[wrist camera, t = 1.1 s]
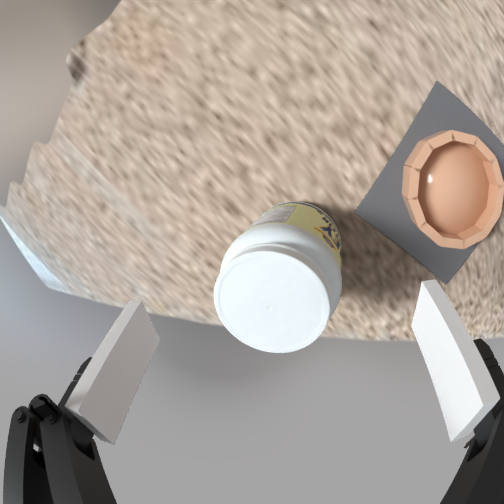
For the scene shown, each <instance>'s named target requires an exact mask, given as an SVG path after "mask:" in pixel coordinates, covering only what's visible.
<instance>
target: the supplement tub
mask: <svg viewBox="0 0 504 504" xmlns="http://www.w3.org/2000/svg"><path fill="white" fill-rule="evenodd" d="M341 249H342V244H341V238H340V234H339V231H338V229H337V227H336V225H335V223H334V222H333V220H332V219H331V218H330V217H329V216H328V215H327V214H326V213H325V212H324V211H322V210H321V209H320V208H318V207H316V206H314V205H312V204H309V203H305V202H297V201H291V202H284V203H280V204H277V205H275V206H273V207H271V208H270V209H268V210H267V211H266V212H265V213H263V214H262V216H261V217H260V218H259V219H257V220H256V221H255V222H254V223H253V224H252V225H251V226H250V227H249V228H248V229H247V230H246V231H245V232H244V233H243V234H242V235H240V236H239V237H238V238H237V239H236V240H235V241H234V242H233V243H232V244H231V246H230V247H229V249H228V250H227V252H226V254H225V256H224V259H223V261H222V265H221V269H220V274H219V276H218V278H217V280H216V283H215V288H214V303H215V307H216V311H217V313H218V316H219V318H220V320H221V321H222V323H223V324H224V326H225V327H226V328H227V329H228V331H229V332H230V333H231V334H233V335H234V336H235V337H236V338H238V339H239V340H240V341H242V342H243V343H245V344H247V345H248V346H251V347H253V348H256V349H258V350H262V351H266V352H275V353H286V352H292V351H296V350H299V349H302V348H304V347H306V346H307V345H310V344H311V343H312V342H314V341H315V340H316V339H317V338H318V337H319V336H320V335H321V333H322V332H323V331H324V329H325V327H326V325H327V323H328V319H329V318H330V317H331V316H332V314H333V313H334V311H335V309H336V307H337V305H338V303H339V300H340V296H341V291H342V258H341V256H342V255H341Z"/></svg>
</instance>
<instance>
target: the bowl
mask: <svg viewBox="0 0 504 504" xmlns="http://www.w3.org/2000/svg"><path fill="white" fill-rule="evenodd" d="M495 157H496V156H495V155H494V154H493V153H492V152H491V151H490V150H489V148H488V147H487V146H486V145H485V144H484V143H483V142H482V141H481V140H480V139H479V138H478V137H476V136H474V135H470V134H467V133H463V132H459V131H454V130H445V131H440V132H437V133H435V134H433V135H431V136H428V137H426V138H424V139H422V140H419V141H418V143H417V144H416V146H415V147H414V149H413V151H412V152H411V154H410V155H409V157H408V159H407V160H406V162H405V163H404V164H405V165H404V168H403V182H402V197H403V199H404V202H405V204H406V207H407V209H408V212H409V214H410V217H411V220H412V221H413V223H414V224H415V225H416V226H417V227H418V228H419V229H420V230H421V231H422V232H423V233H425V234H426V235H427V236H428V237H429V238H430V239H432V240H433V241H434V242H435V243H436V244H437V245H438V246H441V247H449V248H457V249H463V248H464V249H465V248H467V247H469V246H471V245H473V244H475V243H477V242H479V241H481V240H483V239H485V237H487V235H488V234H489V232H490V231H491V229H492V228H493V226H494V225H495V223H496V222H497V220H498V218H499V217H500V214H501V210H502V203H503V196H504V181H503V178H502V174H501V171H500V167H499V164H498V161H497V158H495Z"/></svg>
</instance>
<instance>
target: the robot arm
mask: <svg viewBox="0 0 504 504" xmlns="http://www.w3.org/2000/svg"><path fill="white" fill-rule="evenodd" d="M411 327H412V329H413V332H414V334H415V336H416V339H417V341H418V344H419V346H420V349H421V351H422V354H423V357H424V359H425V362H426V365H427V367H428V370H429V372H430V376H431V378H432V381H433V384H434V387H435V390H436V393H437V396H438V399H439V402H440V406H441V409H442V413H443V416H444V419H445V423H446V427H447V430H448V434H449V438H450V442H453V441H456V440H459V439H461V438H464V437H466V436H467V435H468V434H469V433H470V432H471V431H472V430H474V433H475V436H474V437H473V438H472V439H471V440H470V441H469V442H468V443H467V444H466V445H465V447H464V448H467V447H468V446H469V445H470V446H469V449H468V451H467V453H466V455H465V457H464V460H463V462H462V464H461V466H460V468H459V470H458V472H457V474H456V476H455V478H454V480H453V482H452V484H451V485H450V487H449V489H448V491H447V493H446V494H445V496H444V498H443V499H442V501H441V503H440V504H504V374H503V372H502V370H501V368H500V366H498V362H497V360H496V358H494V355H493V352H492V351H491V349H490V347H489V346H488V345H487V344H486V343H485V342H484V341H483V340H482V339H481V338H480V339H476V340H472V338H471V336H470V334H469V332H468V331H467V329H466V327H465V325H464V324H463V322H462V320H461V318H460V317H459V315H458V313H457V312H456V310H455V308H454V307H453V305H452V304H451V302H450V300H449V299H448V297H447V296H446V294H445V293H444V291H443V289H442V288H441V286H440V285H439V283H438V282H437V280H436V279H435V280H427V281H422V283H421V288H420V292H419V297H418V301H417V306H416V310H415V314H414V318H413V322H412V325H411ZM159 342H160V339H159V337H158V335H157V333H156V330H155V329H154V326H153V324H152V322H151V320H150V318H149V316H148V313H147V311H146V309H145V307H144V305H143V302H142V301H129V302H128V303H127V305H126V306H125V308H124V309H123V311H122V312H121V314H120V316H119V317H118V318H117V320H116V321H115V323H114V325H113V326H112V328H111V329H110V331H109V332H108V334H107V336H106V337H105V338H104V340H103V342H102V343H101V345H100V346H99V348H98V350H97V351H96V353H95V354H94V356H93V358H92V357H89V358H88V359H87V360H86V361H85V362H84V363H83V364H82V365H81V367H80V369H79V370H78V372H77V375H75V377H74V379H73V381H72V382H71V383H70V385H69V387H68V389H67V391H66V392H65V394H64V396H63V397H62V399H61V401H60V403H59V404H58V406H57V405H56V404H55V403H54V402H53V401H52V400H51V399H50V398H49V397H48V396H47V395H45V394H40V395H37V396H36V397H34V398H33V399H32V400H31V402H30V404H29V407H28V408H27V407H25V406H21V407H19V408H17V409H16V410H15V412H14V413H13V415H12V419H11V424H10V429H9V435H8V442H7V449H6V459H5V469H4V487H3V504H117V503H116V500H115V498H114V495H113V493H112V490H111V488H110V485H109V483H108V480H107V477H106V474H105V472H104V469H103V466H102V463H101V459H100V456H99V453H98V450H97V446H96V443H95V441H94V439H92V437H93V435H94V434H95V435H96V436H97V437H98V438H99V439H100V440H102V441H105V442H108V443H111V444H115V442H116V440H117V437H118V435H119V433H120V430H121V428H122V425H123V423H124V421H125V418H126V416H127V413H128V411H129V409H130V406H131V404H132V402H133V399H134V397H135V395H136V392H137V390H138V388H139V386H140V383H141V381H142V379H143V377H144V374H145V372H146V370H147V368H148V366H149V363H150V361H151V359H152V357H153V354H154V352H155V350H156V348H157V346H158V344H159ZM34 444H35V445H36V446H38V447H39V450H38V452H37V451H35V450H34V449H33V445H34Z"/></svg>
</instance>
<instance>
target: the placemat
mask: <svg viewBox="0 0 504 504" xmlns="http://www.w3.org/2000/svg"><path fill="white" fill-rule="evenodd" d="M445 130H454V131H459V132H463V133H467V134H470V135H474V136H476V137H478V138H479V139H480V140H481V141H482V142H483V143H484V144H485V145H486V146H487V147H488V148H489V150H490V151H491V152H492V153H493V154H494V155H495V156H496V157H495V158H497V161H498V164H499V167H500V171H501V174H502V178H503V181H504V145H503V144H502V143H501V141H500V140H499V139H498V138H497V137H496V136H495V135H494V134H493V132H492V131H491V130H490V129H489V128H488V127H487V126H486V125H485V124H484V123H483V122H482V121H481V120H480V119H479V118H478V117H477V116H476V115H475V114H474V113H473V112H472V111H471V110H470V109H469V108H468V107H467V106H466V105H465V104H464V103H462V102H461V101H460V100H459V99H458V98H457V97H456V96H455V95H454V94H452V93H451V92H450V91H449V90H448V89H446V88H445V87H444V86H443V85H442V84H440V83H439V82H438V81H436V83H435V85H434V87H433V88H432V90H431V92H430V94H429V95H428V97H427V99H426V101H425V102H424V104H423V106H422V108H421V109H420V111H419V113H418V114H417V116H416V118H415V119H414V121H413V123H412V124H411V126H410V128H409V129H408V131H407V133H406V134H405V136H404V138H403V139H402V141H401V142H400V144H399V146H398V147H397V149H396V150H395V152H394V154H393V155H392V157H391V158H390V160H389V161H388V163H387V164H386V166H385V168H384V169H383V171H382V172H381V174H380V175H379V177H378V178H377V180H376V181H375V183H374V184H373V186H372V187H371V189H370V190H369V192H368V193H367V195H366V196H365V198H364V199H363V200H362V202H361V203H360V205H359V206H358V208H357V209H356V211H355V214H357V215H358V216H360V217H361V218H362V219H364V220H365V221H367V222H368V223H369V224H371V225H372V226H373V227H375V228H376V229H377V230H379V231H380V232H382V233H383V234H384V235H385V236H387V237H388V238H389V239H391V240H392V241H393V242H395V243H396V244H397V245H398V246H400V247H401V248H402V249H404V250H405V251H406V252H407V253H409V254H410V255H411V256H412V257H414V258H415V259H416V260H417V261H418V262H420V263H421V264H422V265H423V266H425V267H426V268H427V269H428V270H429V271H430V272H432V273H433V274H434V275H435V276H436V277H438V278H439V279H440V280H441V281H442V282H443V283H444V284H447V283H448V282H449V280H450V279H451V278H452V277H453V276H454V274H455V273H456V272H457V271H458V269H459V268H460V267H461V265H462V264H463V263H464V261H465V260H466V259H467V258H468V256H469V255H470V253H471V252H472V251H473V249H474V248H475V247H476V245H477V244H478V242H477V243H475V244H473V245H471V246H469V247H467V248H465V249H464V248H463V249H457V248H449V247H441V246H438V245H437V244H436V243H435V242H434V241H433V240H432V239H430V238H429V237H428V236H427V235H426V234H425V233H423V232H422V231H421V230H420V229H419V228H418V227H417V226H416V225H415V224H414V223H413V221H412V220H411V217H410V214H409V212H408V209H407V207H406V204H405V202H404V199H403V197H402V182H403V168H404V165H405V164H404V163H405V162H406V160H407V159H408V157H409V155H410V154H411V152H412V151H413V149H414V147H415V146H416V144H417V143H418V141H419V140H422V139H424V138H426V137H428V136H431V135H433V134H435V133H437V132H440V131H445ZM503 204H504V196H503V203H502V205H503Z"/></svg>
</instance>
